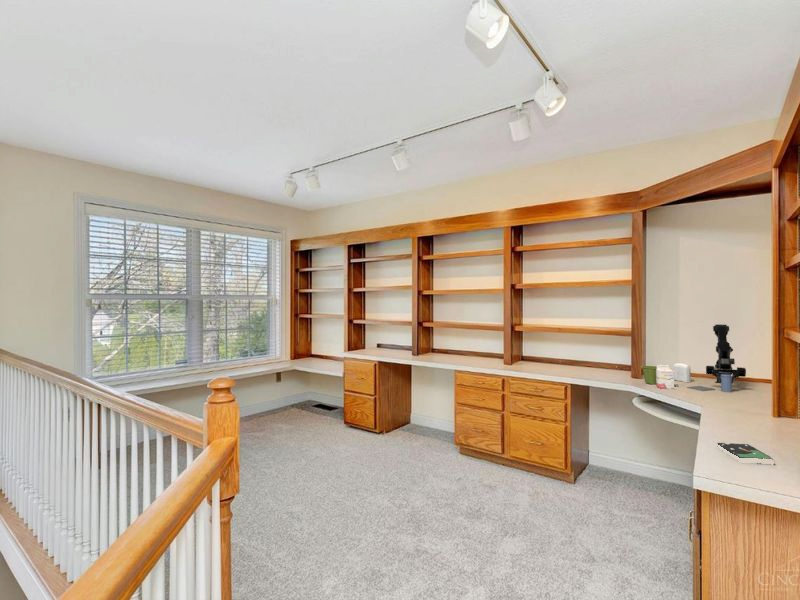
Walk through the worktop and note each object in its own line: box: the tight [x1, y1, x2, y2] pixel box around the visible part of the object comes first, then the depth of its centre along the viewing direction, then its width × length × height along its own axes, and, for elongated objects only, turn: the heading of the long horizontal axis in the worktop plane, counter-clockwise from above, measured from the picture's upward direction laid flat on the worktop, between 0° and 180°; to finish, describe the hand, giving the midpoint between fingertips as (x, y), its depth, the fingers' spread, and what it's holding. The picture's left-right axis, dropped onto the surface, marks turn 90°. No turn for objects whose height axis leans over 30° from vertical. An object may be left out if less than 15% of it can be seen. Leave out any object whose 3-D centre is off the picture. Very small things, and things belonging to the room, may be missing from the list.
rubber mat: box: [686, 385, 716, 392], centre depth 247 cm, size 10×10×2 cm
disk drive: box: [717, 442, 774, 460], centre depth 145 cm, size 10×3×15 cm
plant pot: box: [640, 365, 657, 385], centre depth 271 cm, size 12×12×11 cm
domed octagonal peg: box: [720, 374, 733, 393], centre depth 238 cm, size 5×5×10 cm
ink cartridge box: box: [656, 364, 675, 390], centre depth 256 cm, size 9×5×15 cm, turn 77°
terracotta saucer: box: [718, 389, 735, 394], centre depth 238 cm, size 7×7×5 cm
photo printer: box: [673, 362, 692, 383], centre depth 275 cm, size 10×4×12 cm, turn 17°
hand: (726, 382), depth 237 cm, fingers closed on domed octagonal peg, 5 cm apart
